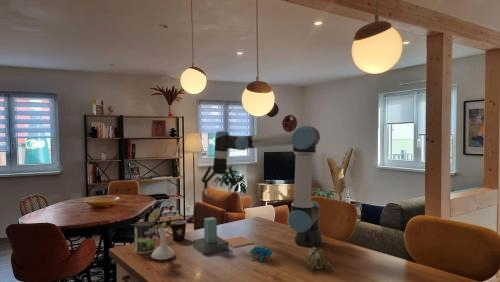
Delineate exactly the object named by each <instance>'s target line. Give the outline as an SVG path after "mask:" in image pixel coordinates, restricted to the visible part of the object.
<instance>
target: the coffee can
mask: <svg viewBox="0 0 500 282" xmlns="http://www.w3.org/2000/svg"><path fill="white" fill-rule="evenodd" d="M155 225H156V223H155V221H153V222H151V221H150V222H149V221H148V220H147V221H144V220H143V221H138V222H135V223H134V224H133V226H134V253H136V254H148V253H149V254H150V253H152V252H153V251H154V250H155V249H156V248H155V247H156V245H155V239H156V238H155V230H156V229H152V228H153V227H154V226H155Z"/></svg>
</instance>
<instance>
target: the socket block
mask: <svg viewBox="0 0 500 282" xmlns="http://www.w3.org/2000/svg"><path fill="white" fill-rule="evenodd" d="M225 240H226V239H224V238H221V237H220V236H218V235H217V242H215V243H210V244H207V243H206V242H204V237H202V238H197V239H193V240H192V247H193V248H194V249H195V250H196V251H197V252H198V253H200V254H202V256H206V255H212V254H216V253H221V252H226V251H229V250H230V249H229V247H230V246H229V242H227V241H225Z"/></svg>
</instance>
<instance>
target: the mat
mask: <svg viewBox="0 0 500 282" xmlns="http://www.w3.org/2000/svg"><path fill="white" fill-rule="evenodd" d="M224 240H225V241H227V242H229V247H231V248H232V249H235V248H238V247H244V246H248V245H252V244H253V245H254V242H253V241H251V240H249V239H247V238H245V237H243V236H242V235H241V236H237V237H231V238H227V239H224Z"/></svg>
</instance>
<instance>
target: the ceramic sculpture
mask: <svg viewBox="0 0 500 282" xmlns="http://www.w3.org/2000/svg"><path fill="white" fill-rule="evenodd" d="M306 259H307V262H306V267H307V269H308V270H309V271H314V270H322V269H323V268H324V270H326V271H332V270H333V268H332V263H330V261H329V260H327V259H326V257H325V255H324V254H323V253H322V251H321V250H320V249H318V248H317V247H311V249H310V250H309V251H308V253H307V255H306Z"/></svg>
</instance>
